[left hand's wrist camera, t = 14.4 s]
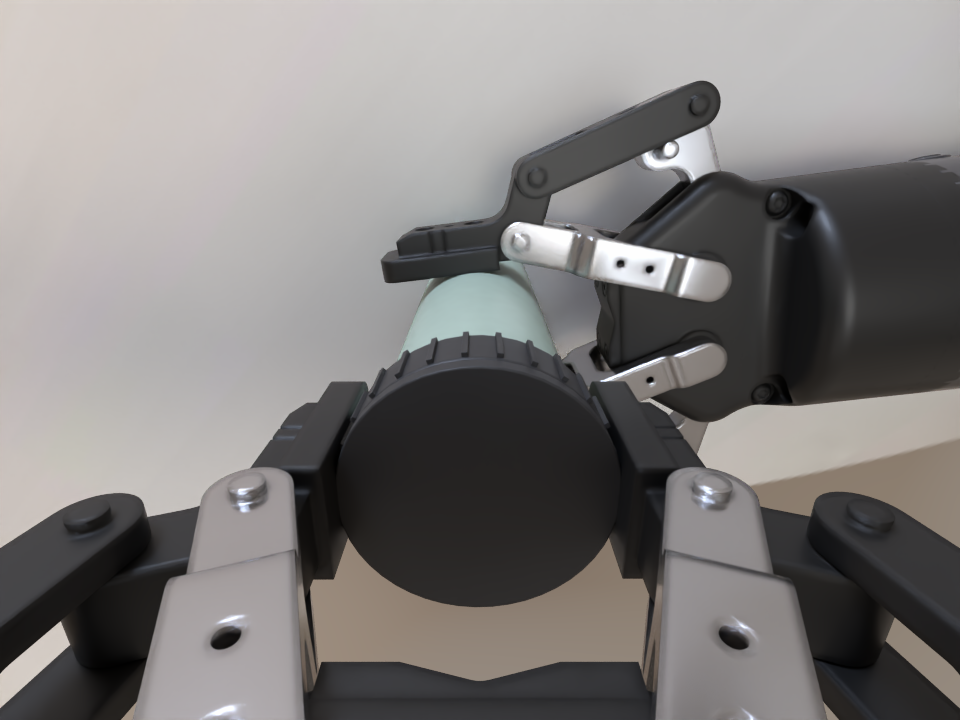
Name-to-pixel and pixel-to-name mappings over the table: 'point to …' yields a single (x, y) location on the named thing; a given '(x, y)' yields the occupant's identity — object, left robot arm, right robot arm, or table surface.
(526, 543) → the lid
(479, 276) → the jar
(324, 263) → the table surface
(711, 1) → the table surface
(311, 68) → the table surface
